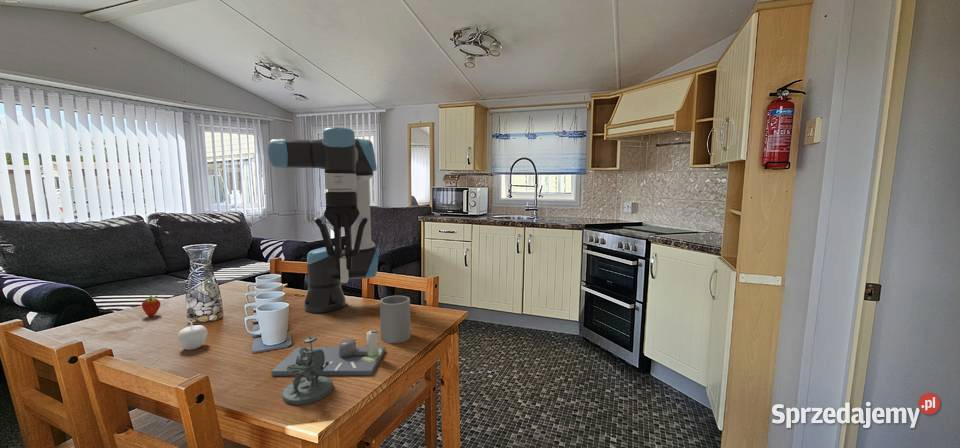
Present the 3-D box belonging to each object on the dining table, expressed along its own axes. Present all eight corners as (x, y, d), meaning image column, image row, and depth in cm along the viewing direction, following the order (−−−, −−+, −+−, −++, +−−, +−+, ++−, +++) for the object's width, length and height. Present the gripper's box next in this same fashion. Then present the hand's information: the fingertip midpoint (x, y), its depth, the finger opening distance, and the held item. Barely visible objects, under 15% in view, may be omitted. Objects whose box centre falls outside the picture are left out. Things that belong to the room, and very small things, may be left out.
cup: (376, 342, 115) (375, 303, 114) (387, 330, 124) (386, 295, 123) (405, 343, 114) (404, 305, 112) (414, 332, 123) (413, 296, 121)
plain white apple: (174, 354, 107) (172, 326, 106) (183, 344, 113) (181, 318, 112) (204, 350, 109) (202, 323, 108) (211, 341, 116) (209, 315, 115)
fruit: (139, 317, 136) (137, 295, 136) (156, 312, 141) (154, 292, 140) (148, 319, 134) (146, 297, 134) (165, 314, 139) (163, 293, 138)
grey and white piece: (336, 357, 101) (335, 334, 101) (342, 350, 106) (341, 328, 105) (376, 357, 101) (375, 334, 100) (380, 350, 105) (380, 328, 105)
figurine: (271, 402, 83) (268, 350, 82) (301, 378, 94) (299, 331, 92) (316, 407, 81) (313, 353, 80) (341, 381, 92) (339, 334, 91)
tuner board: (297, 351, 109) (297, 346, 108) (385, 350, 109) (384, 346, 109) (271, 375, 95) (271, 370, 94) (371, 375, 95) (371, 370, 95)
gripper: (309, 191, 91) (314, 286, 93) (365, 191, 93) (368, 284, 96) (317, 190, 98) (321, 279, 101) (369, 190, 100) (372, 277, 103)
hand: (344, 281), depth 98 cm, fingers closed
